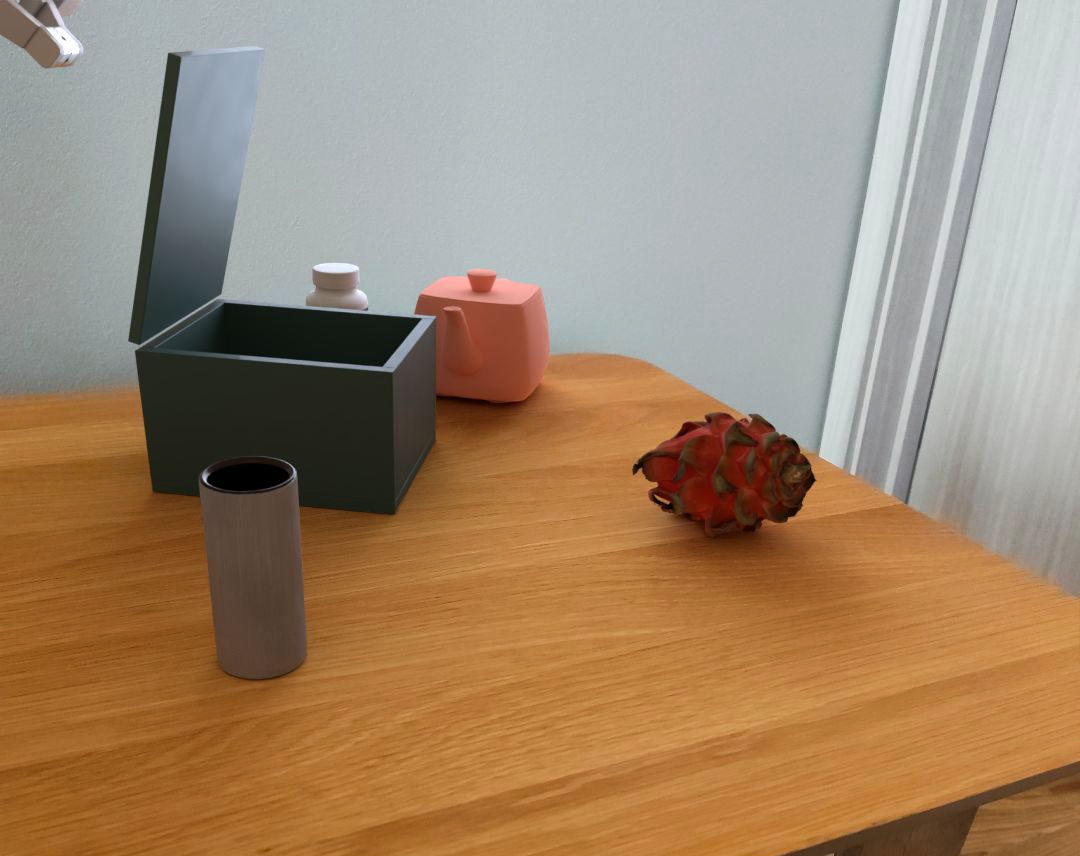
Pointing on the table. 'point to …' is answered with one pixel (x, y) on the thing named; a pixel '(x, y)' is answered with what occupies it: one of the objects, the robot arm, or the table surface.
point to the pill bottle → (337, 287)
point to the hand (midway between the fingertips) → (67, 60)
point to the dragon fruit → (728, 473)
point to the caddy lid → (194, 183)
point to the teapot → (487, 336)
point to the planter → (254, 565)
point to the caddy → (293, 398)
